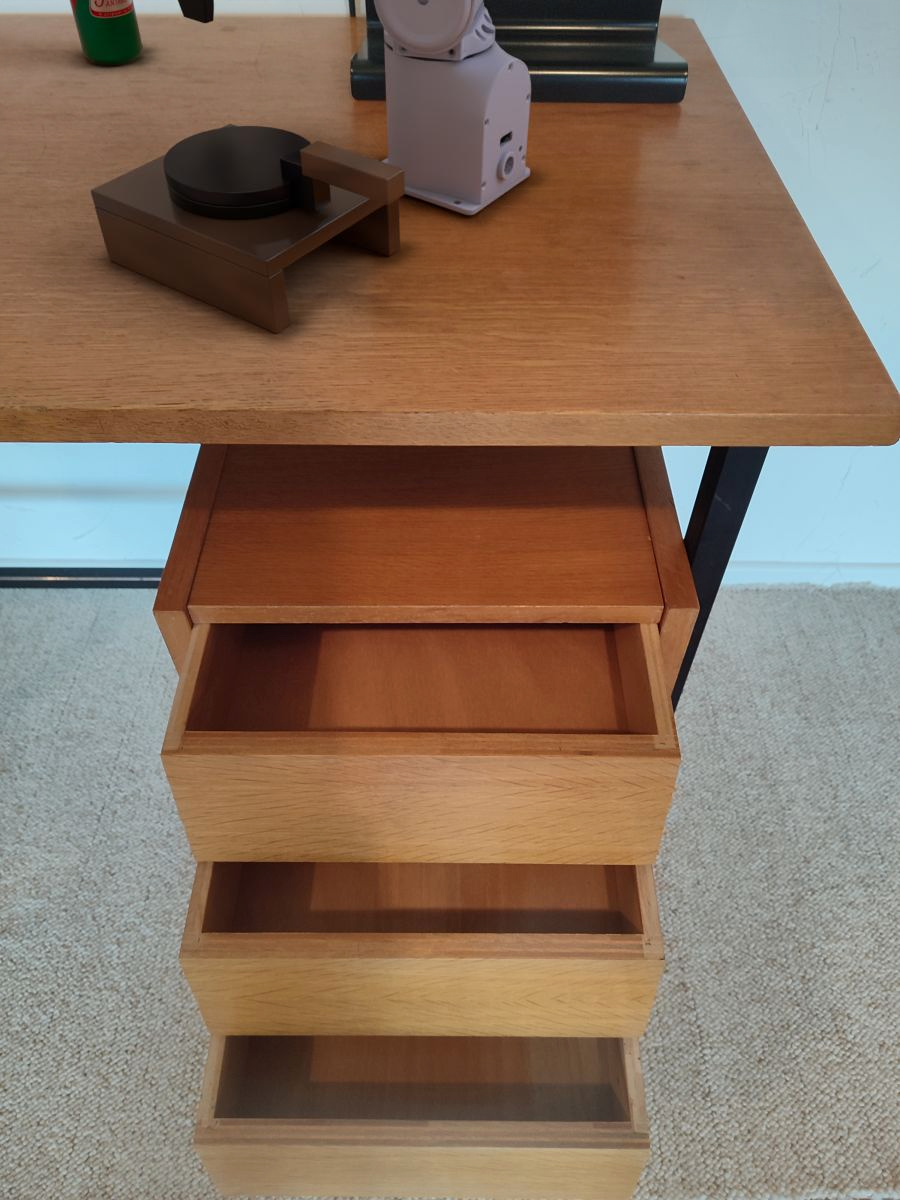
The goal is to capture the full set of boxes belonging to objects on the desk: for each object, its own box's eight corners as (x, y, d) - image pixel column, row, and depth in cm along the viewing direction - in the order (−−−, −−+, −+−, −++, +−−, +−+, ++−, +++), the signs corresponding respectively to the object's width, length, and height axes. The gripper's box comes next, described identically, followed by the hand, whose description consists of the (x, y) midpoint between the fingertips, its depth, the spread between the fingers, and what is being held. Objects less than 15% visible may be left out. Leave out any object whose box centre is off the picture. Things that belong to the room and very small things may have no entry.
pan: (136, 191, 55) (120, 126, 52) (241, 139, 60) (232, 77, 57) (347, 274, 49) (342, 206, 46) (443, 209, 54) (444, 144, 51)
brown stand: (400, 249, 60) (398, 179, 56) (276, 334, 53) (266, 261, 50) (240, 189, 65) (229, 122, 62) (109, 260, 58) (89, 189, 55)
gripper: (243, -297, 56) (268, -35, 66) (51, -277, 48) (113, 18, 58) (334, -283, 54) (345, -13, 64) (147, -260, 46) (194, 45, 56)
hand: (239, 3), depth 61 cm, fingers open, 7 cm apart
